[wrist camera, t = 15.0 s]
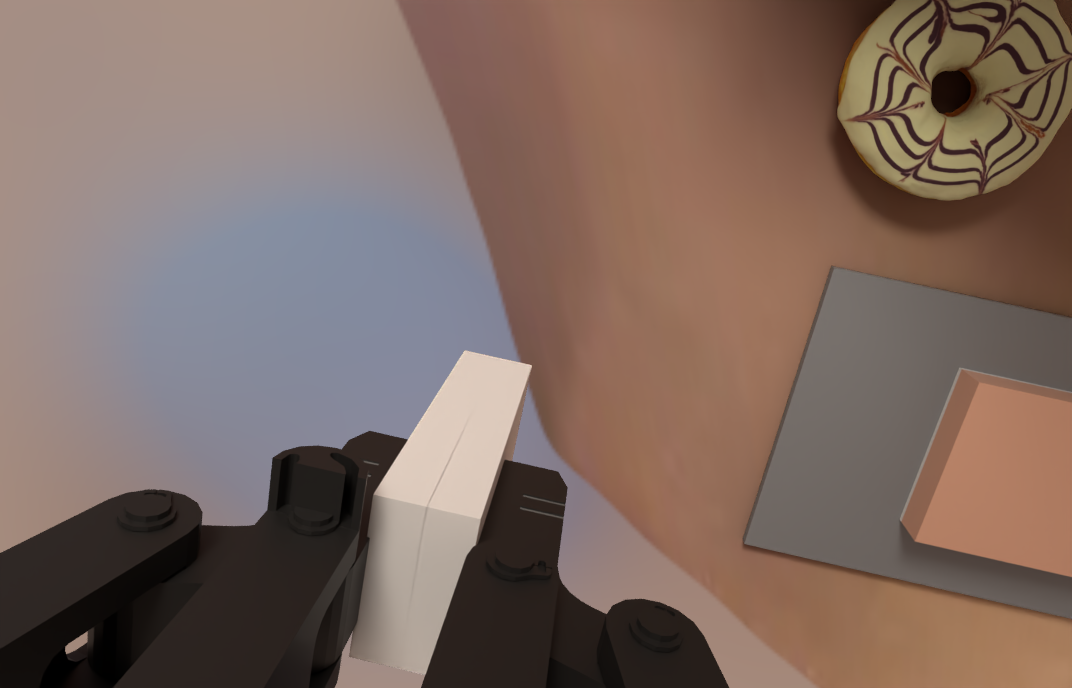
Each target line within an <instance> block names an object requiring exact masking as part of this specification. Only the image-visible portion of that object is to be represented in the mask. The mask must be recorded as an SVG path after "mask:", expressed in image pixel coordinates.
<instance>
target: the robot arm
mask: <svg viewBox="0 0 1072 688" xmlns="http://www.w3.org/2000/svg"><path fill="white" fill-rule="evenodd" d="M531 367H532V365H528V364H523V363H519V362H514V361H510V360H505V359H500V358H496V357H491V356H487V355H483V354H478V353H474V352H470V351H464V353H463V354H462V356H461V357H460V359H459V360H458V362H457V364H456V365H455V367H454V368H453V370H452V372H451V373H450V375H449V376H448V378H447V379H446V381H445V382H444V384H443V386H442V387H441V389H440V390H439V392H438V394H437V395H436V397H435V398H434V400H433V401H432V403H431V404H430V406H429V408H428V409H427V411H426V412H425V414H424V416H423V417H422V419H421V420H420V422H419V423H418V425H417V427H416V428H415V430H414V431H413V433H412V434H411V436H410V437H409V439H408V440H407V439H403V438H399V437H394V436H389V435H385V434H381V433H377V432H372V431H368V432H366V433H364V434H362V435H359V436H357V437H355V438H353V439H350V440H349V441H348V442H347V444H346V445H345V446H344V447H343V448H342V450H341V449H338V448H332V447H324V446H301V447H296V448H293V449H289V450H285V451H283V452H281V453H280V454H278V455H276V456H275V457H273V460H272V470H271V480H270V491H269V500H268V510H267V511H266V512H265V514H264V515H263V516H262V517H261V518H260V519H259V520H258V522H257V523H256V524H255V525H251V526H209V525H207V526H206V525H202V511H201V509H200V507H199V505H198V503H197V502H195V501H194V500H192V499H191V498H189V497H187V496H186V495H182V494H179V493H175V492H171V491H165V490H143V491H137V492H129V493H125V494H122V495H119V496H117V497H114V498H111V499H108V500H106V501H104V502H102V503H100V504H98V505H96V506H94V507H92V508H90V509H88V510H86V511H84V512H82V513H80V514H78V515H76V516H74V517H72V518H70V519H68V520H66V521H64V522H62V523H60V524H58V525H56V526H54V527H52V528H50V529H48V530H46V531H44V532H42V533H40V534H38V535H36V536H34V537H32V538H30V539H28V540H26V541H24V542H22V543H20V544H18V545H16V546H14V547H12V548H10V549H8V550H6V551H4V552H2V553H0V688H335V685H336V683H337V680H338V675H339V670H340V662H341V656H342V651H343V649H344V647H345V645H346V643H347V641H348V639H349V637H350V635H351V633H352V631H353V634H352V641H351V647H350V654H349V657H352V658H356V659H360V660H364V661H368V662H373V663H377V664H381V665H385V666H389V667H394V668H398V669H402V670H406V671H410V672H414V673H419V674H423V675H425V678H424V681H423V684H422V687H421V688H729V686H728V684H727V683H726V680H725V678H724V676H723V674H722V672H721V670H720V668H719V666H718V664H717V662H716V660H715V658H714V656H713V654H712V652H711V650H710V648H709V646H708V643H707V641H706V639H705V637H704V635H703V634H702V633H701V631H700V630H699V629H698V627H697V626H696V625H695V623H694V622H693V621H691V620H690V619H689V618H687V617H686V616H685V615H683V614H682V613H681V612H679V611H678V610H676V609H674V608H672V607H670V606H667V605H665V604H662V603H660V602H655V601H650V600H645V599H631V600H624V601H622V602H619V603H617V604H615V605H613V606H612V607H611V609H610V610H609V612H608V613H607V614H605V613H602V612H601V611H599V610H596V609H594V608H592V607H591V606H589V605H587V604H585V603H583V602H581V601H580V600H579V599H577V598H576V597H575V596H574V595H572V594H571V593H570V592H569V591H568V590H567V588H566V587H565V586H564V585H563V584H562V582H561V580H560V577H559V573H558V567H557V565H558V557H559V550H560V541H561V534H562V526H563V517H564V511H565V503H566V496H567V486H566V484H565V483H564V481H563V479H562V478H561V476H560V474H559V472H557V471H553V470H548V469H544V468H539V467H535V466H531V465H526V464H521V463H518V462H513V461H512V458H513V453H514V448H515V444H516V439H517V434H518V429H519V425H520V420H521V414H522V410H523V406H524V400H525V396H526V391H527V386H528V382H529V377H530V372H531ZM87 631H88V642H87V643H86V644H85V645H83V646H81V647H80V648H79V649H77V650H76V651H73V652H71V653H69V654H66V652H65V646H66V645H68V643H70V642H72V641H73V640H75V639H76V638H78V637H79V636H81V635H82V634H84V633H85V632H87Z"/></svg>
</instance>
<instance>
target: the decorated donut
mask: <svg viewBox="0 0 1072 688" xmlns="http://www.w3.org/2000/svg"><path fill="white" fill-rule="evenodd" d="M955 70H958V71H961V72H962V73H963V74H965V76H966V77H967V78H968V80H969V81H970V84H971V88H970V89H971V94H970V98H969V100H968V101H967V102H966V103H965V104H964V105H962V106H961V107H960V108H959V109H957V110H956V109H955V111H954V112H952V113H947V112H946V114H940V113H939V112H937V110H936V109H935V108H934V107H933V105H932V102H931V88H932V80H933V79H934V77H935V76H936V75H937V74H939V73H940V72H942V71H955ZM838 100H839V106H838V109H837V116H838V119H839V120H840V122H841V123H842V125H843V127H844V129H845V130H846V133H847V135H848V137H849V139H850V141H851V142H852V144H853V146H854V148H855V150H856V152H857V153H858V155H859V157H860V158H861V159H862V160H863V162H864V163H865V164H866V165H867V166H868V168H870V169H871V170H872V172H873V173H874V174H876V175H877V176H878V177H880V178H881V179H883V180H884V181H886V182H887V183H889V184H891V185H894V186H895V187H897V188H898V189H900V190H903V191H905V192H907V193H909V194H913V195H916V196H920V197H923V198H930V199H938V200H947V201H950V200H962V199H964V198H966V197H971V196H975V195H979V194H985V193H988V192H991V191H993V190H995V189H998V188H999V187H1002V186H1006V185H1008V184H1010V183H1011V182H1012V181H1014V180H1015V179H1017V178H1018V177H1019V176H1020V175H1021V174H1023V173H1024V172H1025V171H1026V170H1027V169H1028V168H1030V167H1031V166H1032V165H1033V164H1034V163H1035V162H1036V161H1037V160H1038V159H1039V158H1040V157H1041V155H1042V154H1043V153H1044V151H1045V149H1046V148H1047V147H1048V145H1049V144H1050V143H1051V141H1052V139H1053V137H1054V136H1055V134H1056V133H1057V131H1058V129H1059V128H1060V126H1061V125H1062V123H1063V122H1064V121H1065V119H1066V118H1067V116H1068V114H1069V112H1070V110H1071V109H1072V35H1071V33H1070V30H1069V28H1068V26H1067V25H1066V24H1065V22H1064V20H1063V18H1062V17H1061V16H1060V13H1059V11H1058V8H1057V5H1056V3H1055V1H1054V0H896V1H895V2H894V3H893V4H892V5H891V6H890V7H889V8H887V9H886V10H885V11H883V12H882V13H881V14H880V15H879V16H878V17H877V18H876V19H875V20H874V21H873V22H872V23H871V24H870V25H869V26H868V27H867V28H866V29H865V30H864V31H863V32H862V34H861V35H860V36H859V38H858V39H857V40H856V41H855V42H854V44H853V47H852V49H851V52H850V53H849V55H848V57H847V59H846V61H845V65H844V70H843V72H842V76H841V79H840V83H839V91H838Z"/></svg>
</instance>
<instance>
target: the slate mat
mask: <svg viewBox="0 0 1072 688" xmlns="http://www.w3.org/2000/svg"><path fill="white" fill-rule="evenodd" d="M959 368H964V369H969V370H973V371H978V372H982V373H987V374H991V375H996V376H1001V377H1005V378H1010V379H1014V380H1019V381H1024V382H1028V383H1033V384H1037V385H1042V386H1046V387H1051V388H1056V389H1060V390H1065V391H1069V392H1072V317H1067V316H1063V315H1058V314H1053V313H1049V312H1044V311H1040V310H1035V309H1030V308H1026V307H1021V306H1016V305H1012V304H1007V303H1002V302H998V301H993V300H988V299H984V298H979V297H974V296H970V295H965V294H960V293H956V292H951V291H946V290H942V289H937V288H932V287H928V286H923V285H918V284H914V283H909V282H904V281H900V280H895V279H890V278H886V277H881V276H876V275H872V274H867V273H862V272H858V271H853V270H848V269H844V268H839V267H834V266H831V269H830V272H829V275H828V278H827V281H826V284H825V287H824V290H823V293H822V297H821V300H820V303H819V306H818V309H817V312H816V315H815V318H814V321H813V324H812V327H811V330H810V333H809V337H808V340H807V343H806V346H805V349H804V352H803V355H802V358H801V361H800V364H799V367H798V370H797V374H796V377H795V380H794V383H793V386H792V389H791V392H790V395H789V398H788V401H787V404H786V407H785V410H784V414H783V417H782V420H781V423H780V426H779V429H778V432H777V435H776V438H775V441H774V444H773V447H772V450H771V454H770V457H769V460H768V463H767V466H766V469H765V472H764V475H763V478H762V481H761V484H760V487H759V491H758V494H757V497H756V500H755V503H754V506H753V509H752V512H751V515H750V518H749V521H748V524H747V527H746V531H745V534H744V537H743V541H744V544H747V545H751V546H755V547H760V548H764V549H768V550H773V551H777V552H782V553H786V554H790V555H795V556H799V557H803V558H808V559H812V560H817V561H821V562H825V563H830V564H834V565H838V566H843V567H847V568H851V569H856V570H860V571H865V572H869V573H873V574H878V575H882V576H886V577H891V578H895V579H899V580H904V581H908V582H913V583H917V584H921V585H926V586H930V587H934V588H939V589H943V590H947V591H952V592H956V593H961V594H965V595H969V596H974V597H978V598H982V599H987V600H991V601H995V602H1000V603H1004V604H1009V605H1013V606H1017V607H1022V608H1026V609H1030V610H1035V611H1039V612H1044V613H1048V614H1052V615H1057V616H1061V617H1065V618H1070V619H1072V577H1069V576H1065V575H1061V574H1056V573H1052V572H1047V571H1043V570H1039V569H1034V568H1030V567H1025V566H1021V565H1017V564H1012V563H1008V562H1003V561H999V560H995V559H990V558H986V557H981V556H977V555H973V554H968V553H964V552H959V551H955V550H951V549H946V548H942V547H937V546H933V545H929V544H924V543H920V542H915V541H914V539H913V538H912V537H911V535H910V534H909V532H908V531H907V529H906V528H905V526H904V525H903V524H902V522H901V521H900V517H901V514H902V512H903V509H904V507H905V504H906V502H907V499H908V497H909V494H910V492H911V489H912V486H913V484H914V481H915V479H916V476H917V474H918V471H919V469H920V466H921V464H922V461H923V459H924V456H925V454H926V451H927V448H928V446H929V443H930V441H931V438H932V436H933V433H934V431H935V428H936V426H937V423H938V421H939V418H940V415H941V413H942V410H943V408H944V405H945V403H946V400H947V398H948V395H949V393H950V390H951V388H952V385H953V382H954V380H955V377H956V375H957V372H958V370H959Z"/></svg>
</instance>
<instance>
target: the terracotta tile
mask: <svg viewBox="0 0 1072 688" xmlns="http://www.w3.org/2000/svg"><path fill="white" fill-rule="evenodd" d="M900 521H901V522H902V524H903V525H904V526H905V528H906V529H907V531H908V532H909V534H910V535H911V537H912V538H913V539H914V541H915V542H920V543H924V544H929V545H933V546H937V547H942V548H946V549H951V550H955V551H959V552H964V553H968V554H973V555H977V556H981V557H986V558H990V559H995V560H999V561H1003V562H1008V563H1012V564H1017V565H1021V566H1025V567H1030V568H1034V569H1039V570H1043V571H1047V572H1052V573H1056V574H1061V575H1065V576H1069V577H1072V392H1069V391H1065V390H1060V389H1056V388H1051V387H1046V386H1042V385H1037V384H1033V383H1028V382H1024V381H1019V380H1014V379H1010V378H1005V377H1001V376H996V375H991V374H987V373H982V372H978V371H973V370H969V369H964V368H959V370H958V372H957V375H956V377H955V380H954V382H953V385H952V388H951V390H950V393H949V395H948V398H947V400H946V403H945V405H944V408H943V410H942V413H941V415H940V418H939V421H938V423H937V426H936V428H935V431H934V433H933V436H932V438H931V441H930V443H929V446H928V448H927V451H926V454H925V456H924V459H923V461H922V464H921V466H920V469H919V471H918V474H917V476H916V479H915V481H914V484H913V486H912V489H911V492H910V494H909V497H908V499H907V502H906V504H905V507H904V509H903V512H902V514H901V517H900Z"/></svg>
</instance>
